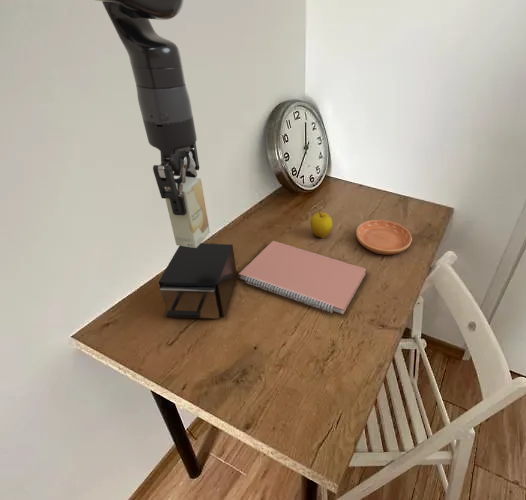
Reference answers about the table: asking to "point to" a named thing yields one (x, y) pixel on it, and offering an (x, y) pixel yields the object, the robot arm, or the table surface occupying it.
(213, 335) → the table surface
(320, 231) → the apple
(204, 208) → the cosmetic box
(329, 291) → the notebook
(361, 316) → the table surface
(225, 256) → the cabinet
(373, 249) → the saucer
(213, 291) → the drawer
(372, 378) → the table surface
